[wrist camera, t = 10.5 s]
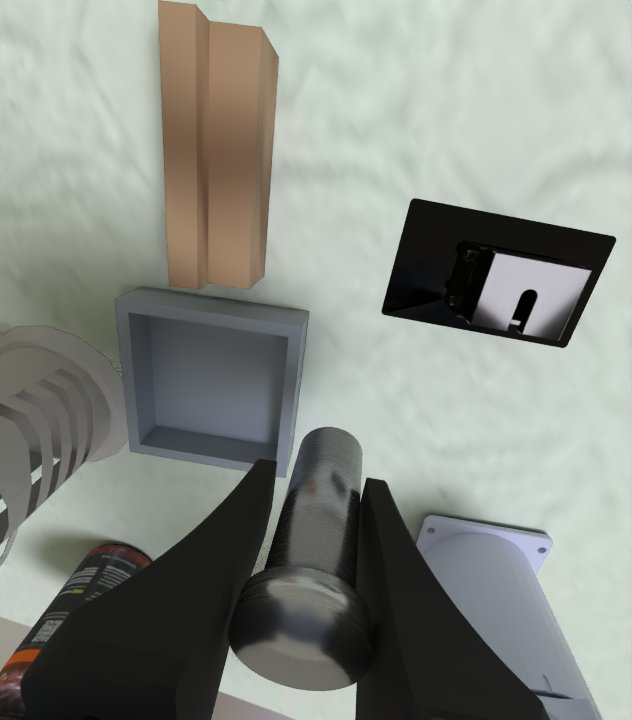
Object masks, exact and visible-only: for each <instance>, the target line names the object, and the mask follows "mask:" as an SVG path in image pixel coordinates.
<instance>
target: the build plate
mask: <svg viewBox="0 0 632 720" xmlns="http://www.w3.org/2000/svg"><path fill="white" fill-rule="evenodd" d="M615 242H616V238H615V237H614V236H609V235H604V234H599V233H593V232H588V231H583V230H578V229H572V228H567V227H562V226H557V225H552V224H546V223H541V222H536V221H531V220H526V219H520V218H515V217H510V216H505V215H500V214H494V213H489V212H484V211H479V210H473V209H468V208H463V207H458V206H453V205H447V204H442V203H437V202H432V201H427V200H421V199H416V198H415V199H412V200H411V202H410V205H409V209H408V213H407V217H406V220H405V224H404V228H403V232H402V236H401V239H400V243H399V247H398V251H397V254H396V258H395V262H394V266H393V269H392V273H391V277H390V281H389V285H388V288H387V292H386V296H385V300H384V303H383V307H382V314H384V315H388V316H393V317H399V318H404V319H409V320H415V321H420V322H425V323H431V324H436V325H442V326H447V327H452V328H458V329H463V330H469V331H474V332H479V333H485V334H490V335H495V336H501V337H506V338H512V339H517V340H522V341H528V342H533V343H539V344H544V345H549V346H555V347H560V348H564V347H566V346H567V345H568V343H569V340H570V338H571V336H572V334H573V332H574V330H575V328H576V326H577V323H578V321H579V319H580V317H581V315H582V313H583V311H584V308H585V306H586V304H587V302H588V300H589V298H590V296H591V294H592V291H593V289H594V287H595V285H596V283H597V281H598V279H599V276H600V274H601V272H602V270H603V268H604V266H605V264H606V262H607V259H608V257H609V255H610V253H611V251H612V249H613V247H614V244H615Z"/></svg>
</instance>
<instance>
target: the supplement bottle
mask: <svg viewBox="0 0 632 720" xmlns="http://www.w3.org/2000/svg"><path fill="white" fill-rule="evenodd" d="M150 563H151V562H150V560H149V559H148V558H147V557H145V556H143V555H142V554H141V553H139V552H137V551H135V550H134V549H131V548H130V547H125V546H119V545H105V546H101V547H98V548H96V549H94V550H93V551H91V552H90V553H89V554H88V555H87V557H86V558H85V559H84V560H83V561H82V563H81V564H80V565H79V566H78V568H77V569H76V571H75V572H74V573H73V575H72V576H71V577H70V578H69V580H68V581H67V582H66V584H65V585H64V587H63V588H62V589H61V591H60V592H59V593H58V595H57V596H56V597H55V599H54V600H53V601H52V603H51V604H50V605H49V607H48V608H47V609H46V611H45V612H44V613H43V615H42V616H41V617H40V619H39V620H38V621H37V623H36V624H35V625H34V627H33V628H32V629H31V631H30V632H29V634H28V635H27V636H26V637H25V639H24V640H23V641H22V643H21V644H20V645H19V647H18V648H17V649H16V651H15V652H14V654H13V655H12V656H11V658H10V659H9V661H8V662H7V663H6V665H5V666H4V667H3V669H2V670H1V672H0V720H29V717H28V714H27V711H26V708H25V706H24V703H23V700H22V697H21V690H20V681H21V679H22V677H23V675H24V674H25V672H26V671H27V669H28V668H29V666H30V665H31V664H32V662H33V661H34V659H35V658H36V656H37V655H38V653H39V652H40V651H41V649H42V648H43V646H44V645H45V643H46V642H47V640H48V639H49V638H50V636H51V635H52V634H53V633H54V632H55V630H56V629H57V628H58V627H59V626H60V624H61V623H62V622H63V621H64V620H65V619H66V617H67V616H68V615H69V614H70V613H71V611H72V610H74V609H76V608H78V607H80V606H81V605H83V604H85V603H87V602H88V601H90V600H92V599H94V598H96V597H97V596H99V595H101V594H103V593H104V592H106V591H108V590H110V589H111V588H113V587H115V586H116V585H118V584H120V583H121V582H123V581H124V580H126V579H127V578H129V577H131V576H132V575H134V574H135V573H137V572H138V571H140V570H141V569H143V568H144V567H146V566H147V565H149V564H150Z"/></svg>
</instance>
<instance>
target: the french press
mask: <svg viewBox="0 0 632 720" xmlns="http://www.w3.org/2000/svg"><path fill="white" fill-rule="evenodd" d="M128 439H129V436H128V426H127V416H126V406H125V396H124V386H123V379H122V378H121V377H120V375H119V374H118V372H117V371H116V370H115V368H114V367H113V366H112V364H111V363H110V362H109V360H108V359H107V358H106V357H105V356H103V355H102V354H101V353H99V352H98V351H97V350H95V349H94V348H93V347H91V346H90V345H89V344H87V343H86V342H85V341H83V340H82V339H80V338H79V337H77V336H74V335H71V334H68V333H65V332H63V331H60V330H57V329H54V328H51V327H48V326H25V327H15V328H13V329H12V330H10V331H8V332H6V333H5V334H3V335H1V336H0V499H1V498H2V499H3V500H4V502H5V504H6V506H7V508H6V509H5V510H4V511H3V512H2V513H0V544H2V543H3V542H4V541H5V540H6V539H7V538H8V537H9V536H10V537H9V539H8V542H7V545H6V547H5V550H4V553H3V554H2V556H1V558H0V566H1V565H2V563H3V562H4V561H5V559H6V558H7V556H8V554H9V552H10V549H11V547H12V544H13V542H14V539H15V537H16V535H17V530H18V527H19V526H20V525H21V524H22V523H23V522H24V521H25V520H26V519H27V518H28V517H29V516H30V515H31V514H32V513H33V512H34V511H35V510H36V509H37V508H38V507H39V506H40V505H41V504H42V503H43V502H45V501H46V500H47V499H48V498H49V497H50V496H51V495H52V494H53V493H54V492H55V491H56V490H57V489H58V488H59V487H60V486H61V485H62V484H63V483H64V482H65V481H66V480H67V479H68V478H69V477H70V476H71V475H72V474H73V473H74V472H75V471H76V470H77V469H78V468H79V467H80V466H81V465H82V464H83V463H84V462H85V461H98V460H101V459H103V458H106V457H108V456H111V455H113V454H116V453H118V452H119V450H120V449H121V448H122V447H123V445H124V444H125V443H126V442H127V440H128ZM53 458H57V459H60V461H59V462H58V463H57V464H55V465H54V464H53ZM40 465H42V477H41V478H40V479H39V480H37V481H36V482H35V483H34V484H33V485H32V480H31V473H32V472H33V471H34V470H36V469H37V468H38V467H39V466H40ZM53 465H54V466H53Z"/></svg>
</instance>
